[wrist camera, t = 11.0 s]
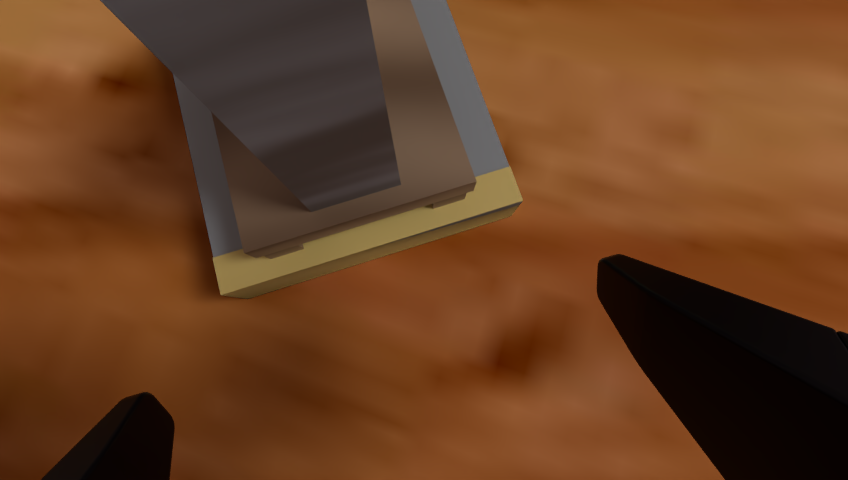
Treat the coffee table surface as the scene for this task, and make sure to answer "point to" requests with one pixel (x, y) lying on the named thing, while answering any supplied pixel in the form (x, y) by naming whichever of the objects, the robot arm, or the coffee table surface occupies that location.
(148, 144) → the coffee table surface
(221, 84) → the grey column with base
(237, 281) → the dock
